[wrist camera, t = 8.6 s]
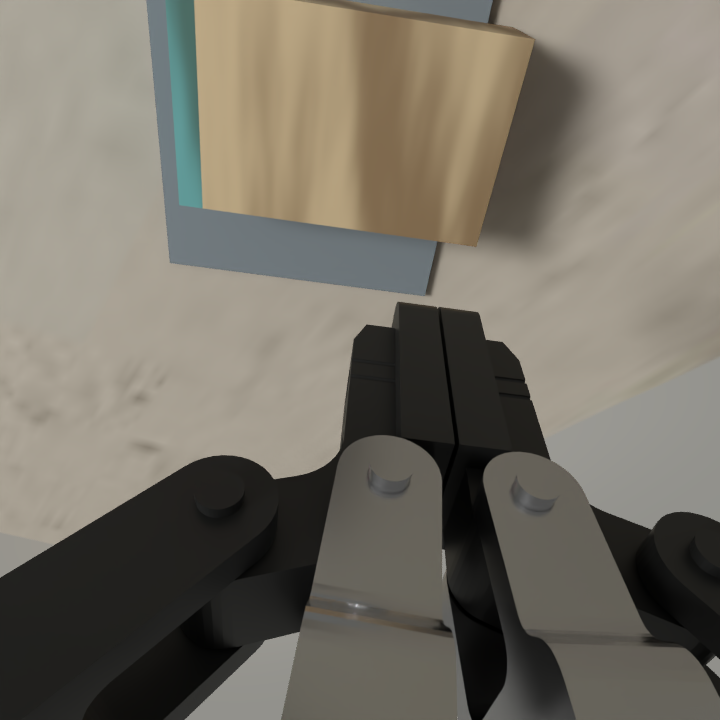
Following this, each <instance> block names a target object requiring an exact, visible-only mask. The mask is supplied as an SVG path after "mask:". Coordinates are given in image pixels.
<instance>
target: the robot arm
mask: <svg viewBox="0 0 720 720" xmlns="http://www.w3.org/2000/svg"><path fill="white" fill-rule="evenodd" d="M442 549H444V550H445V556H446V557H445V558H446V568H447V569H446V572H445V574H444V577H443V579H442ZM296 632H300V634H299V638H298V643H297V648H296V652H295V657H294V662H293V666H292V671H291V676H290V681H289V685H288V690H287V694H286V699H285V704H284V708H283V714H282V718H281V720H457V716H458V720H720V678H719V677H718V676H717V675H716V674H715V673H714V672H713V671H712V670H711V669H710V668H709V667H708V666H706V664H707V663H708V662H710V661H711V660H712V659H713V658H714V657H715V656H717V657H718V658H719V659H720V523H719V522H717V521H715V520H713V519H711V518H708V517H705V516H702V515H698V514H694V513H689V512H674V513H671V514H667V515H665V516H663V517H662V518H661V519H660V520H659V521H658V522H657V523H656V525H655V526H654V528H653V529H652V530H651V529H648V528H645V527H643V526H640V525H638V524H635V523H632V522H630V521H627V520H625V519H622V518H619V517H616V516H614V515H611V514H609V513H606V512H604V511H602V510H600V509H597V508H595V507H594V506H592V505H590V504H589V502H588V500H587V497H586V495H585V493H584V491H583V489H582V488H581V486H580V485H579V483H578V482H577V481H576V479H574V477H573V476H572V475H571V474H570V473H569V472H567V471H566V470H565V469H564V468H562V467H561V466H559V465H558V464H556V463H555V462H553V461H551V460H550V457H549V453H548V450H547V447H546V444H545V441H544V438H543V434H542V431H541V428H540V425H539V422H538V419H537V415H536V412H535V409H534V406H533V403H532V400H530V393H529V390H528V387H527V384H525V377H524V374H523V371H522V368H521V365H520V362H519V360H518V359H517V357H516V356H515V355H514V354H513V353H512V352H511V351H510V350H509V349H508V347H507V346H506V345H505V344H504V343H503V342H498V341H490V340H486V339H485V335H484V331H483V327H482V323H481V319H480V315H479V313H478V312H472V311H465V310H457V309H450V308H442V307H439V308H438V309H437V307H434V306H426V305H418V304H411V303H403V302H397V305H396V308H395V313H394V318H393V323H392V328H389V327H382V326H374V325H366V326H365V327H364V328H363V329H362V331H361V332H360V333H359V334H358V335H357V336H356V337H355V339H354V342H353V349H352V356H351V363H350V370H349V377H348V384H347V391H346V398H345V406H344V416H343V425H342V435H341V444H340V451H339V452H338V454H337V455H336V457H334V458H333V459H332V460H331V461H330V462H329V463H328V464H326V465H325V466H324V467H322V468H320V469H318V470H316V471H313V472H310V473H308V474H304V475H299V476H293V477H287V478H280V479H273V478H272V476H271V475H270V473H269V472H268V471H267V470H266V469H265V468H263V467H262V466H260V465H259V464H257V463H255V462H253V461H251V460H249V459H246V458H242V457H237V456H227V455H221V456H212V457H207V458H203V459H200V460H197V461H195V462H192V463H190V464H188V465H187V466H185V467H183V468H181V469H180V470H178V471H176V472H175V473H173V474H171V475H170V476H168V477H166V478H165V479H163V480H161V481H160V482H158V483H157V484H155V485H153V486H152V487H150V488H148V489H147V490H145V491H143V492H142V493H140V494H138V495H137V496H135V497H133V498H132V499H130V500H128V501H127V502H125V503H123V504H122V505H120V506H118V507H117V508H115V509H113V510H112V511H110V512H108V513H107V514H105V515H104V516H102V517H100V518H99V519H97V520H95V521H94V522H92V523H90V524H89V525H87V526H85V527H84V528H82V529H80V530H79V531H77V532H75V533H74V534H72V535H70V536H69V537H67V538H65V539H64V540H62V541H60V542H59V543H57V544H55V545H54V546H52V547H50V548H49V549H47V550H46V551H44V552H42V553H41V554H39V555H37V556H36V557H34V558H32V559H31V560H29V561H27V562H26V563H24V564H22V565H21V566H19V567H17V568H16V569H14V570H12V571H11V572H9V573H7V574H6V575H4V576H3V577H1V578H0V720H184V719H185V718H187V717H188V716H189V715H190V714H191V713H192V712H193V711H194V710H195V709H196V708H197V707H198V706H199V705H200V704H201V703H202V702H203V701H204V700H205V699H206V698H207V697H208V696H210V695H211V694H212V693H213V692H214V691H215V690H216V689H217V688H218V687H219V686H220V685H221V684H222V683H223V682H224V681H225V680H226V679H227V678H228V677H229V676H230V675H232V674H233V673H234V672H235V671H236V670H237V669H238V668H239V667H240V666H241V665H242V664H243V663H244V662H245V661H246V660H247V659H248V658H249V657H250V656H251V655H252V654H253V653H254V652H256V650H257V649H258V648H259V647H260V646H261V645H262V644H263V642H264V641H265V640H267V639H272V638H276V637H280V636H284V635H288V634H292V633H296Z"/></svg>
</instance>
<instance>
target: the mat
mask: <svg viewBox="0 0 720 720" xmlns="http://www.w3.org/2000/svg"><path fill="white" fill-rule="evenodd" d="M146 1H147V12H148V23H149V34H150V45H151V57H152V68H153V79H154V90H155V101H156V113H157V124H158V135H159V146H160V157H161V169H162V180H163V191H164V202H165V213H166V225H167V236H168V247H169V258H170V263H175V264H183V265H190V266H198V267H206V268H213V269H221V270H229V271H236V272H244V273H252V274H259V275H267V276H275V277H282V278H290V279H298V280H305V281H313V282H321V283H328V284H336V285H344V286H351V287H359V288H367V289H374V290H382V291H390V292H397V293H405V294H413V295H420V296H425V293H426V288H427V284H428V280H429V275H430V271H431V267H432V262H433V258H434V254H435V249H436V245H437V241H432V240H424V239H417V238H410V237H403V236H396V235H389V234H382V233H374V232H367V231H360V230H353V229H346V228H339V227H332V226H324V225H317V224H310V223H303V222H296V221H289V220H282V219H274V218H267V217H260V216H253V215H246V214H239V213H232V212H224V211H217V210H210V209H203V208H196V207H189V206H182V205H179V194H178V179H177V165H176V150H175V135H174V120H173V106H172V91H171V76H170V62H169V47H168V32H167V18H166V3H165V0H146ZM347 1H353V2H360V3H366V4H372V5H378V6H384V7H390V8H397V9H403V10H409V11H415V12H421V13H427V14H434V15H440V16H446V17H452V18H458V19H464V20H470V21H477V22H483V23H488V19H489V15H490V11H491V6H492V2H493V0H347Z"/></svg>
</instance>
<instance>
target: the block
mask: <svg viewBox="0 0 720 720" xmlns="http://www.w3.org/2000/svg"><path fill="white" fill-rule="evenodd" d="M165 3H166V18H167V32H168V47H169V62H170V76H171V91H172V106H173V120H174V135H175V150H176V165H177V179H178V194H179V205H182V206H189V207H196V208H203V209H210V210H217V211H224V212H232V213H239V214H246V215H253V216H260V217H267V218H274V219H282V220H289V221H296V222H303V223H310V224H317V225H324V226H332V227H339V228H346V229H353V230H360V231H367V232H374V233H382V234H389V235H396V236H403V237H410V238H417V239H424V240H432V241H439V242H446V243H453V244H460V245H467V246H474V247H476V246H477V242H478V239H479V235H480V232H481V228H482V225H483V221H484V218H485V214H486V211H487V207H488V204H489V200H490V197H491V193H492V190H493V186H494V182H495V179H496V175H497V172H498V168H499V165H500V161H501V158H502V154H503V151H504V147H505V144H506V140H507V137H508V133H509V130H510V126H511V123H512V119H513V116H514V112H515V108H516V105H517V101H518V98H519V94H520V91H521V87H522V84H523V80H524V77H525V73H526V70H527V66H528V63H529V59H530V56H531V52H532V49H533V45H534V41H535V39H534V38H532V37H530V36H528V35H526V34H524V33H523V32H521V31H519V30H517V29H515V28H513V27H507V26H501V25H495V24H489V23H483V22H477V21H470V20H464V19H458V18H452V17H446V16H440V15H434V14H427V13H421V12H415V11H409V10H403V9H397V8H390V7H384V6H378V5H372V4H366V3H360V2H353V1H347V0H165Z"/></svg>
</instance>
